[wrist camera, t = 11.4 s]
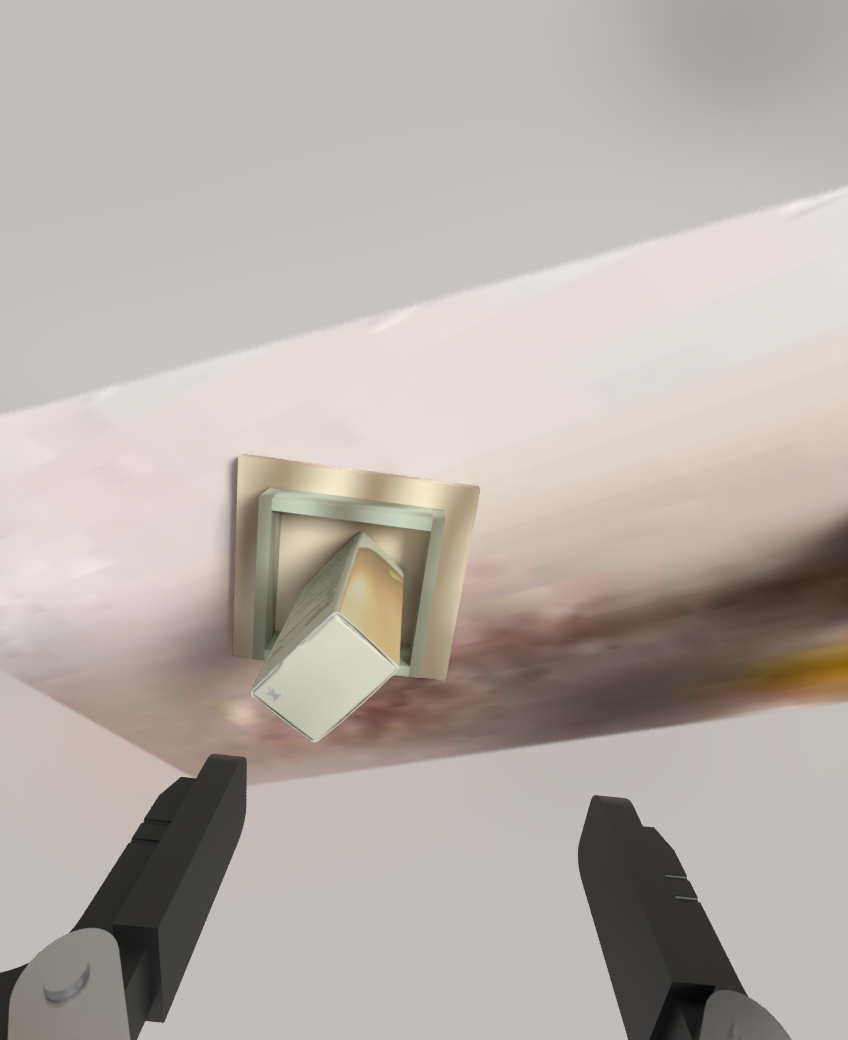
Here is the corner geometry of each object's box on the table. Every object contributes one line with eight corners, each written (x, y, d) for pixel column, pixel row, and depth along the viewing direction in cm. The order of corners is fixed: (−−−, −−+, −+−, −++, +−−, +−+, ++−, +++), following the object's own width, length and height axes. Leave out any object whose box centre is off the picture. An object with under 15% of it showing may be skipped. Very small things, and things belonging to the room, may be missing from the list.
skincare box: (346, 624, 36) (311, 751, 24) (301, 586, 35) (241, 698, 23) (409, 567, 34) (403, 671, 23) (364, 525, 33) (334, 611, 22)
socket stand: (478, 486, 34) (484, 499, 30) (444, 672, 38) (447, 702, 35) (243, 454, 33) (223, 464, 29) (237, 648, 37) (219, 675, 34)
